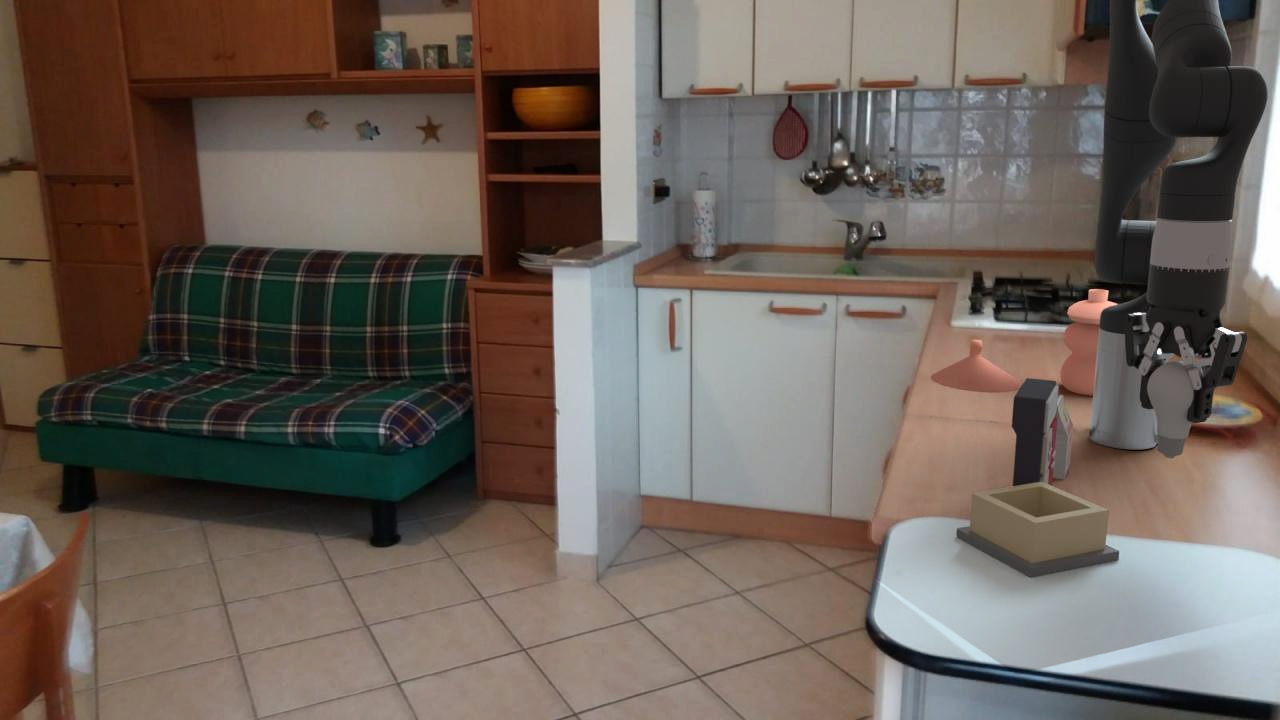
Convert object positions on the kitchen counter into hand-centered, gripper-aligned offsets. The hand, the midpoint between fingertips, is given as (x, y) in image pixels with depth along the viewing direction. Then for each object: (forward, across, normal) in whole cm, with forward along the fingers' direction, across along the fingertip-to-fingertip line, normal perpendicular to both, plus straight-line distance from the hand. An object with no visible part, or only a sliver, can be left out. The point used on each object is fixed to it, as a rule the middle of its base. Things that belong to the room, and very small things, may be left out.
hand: (1172, 414), depth 112 cm
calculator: (+15, +15, +5) cm, 22 cm away
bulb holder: (+15, +4, +14) cm, 21 cm away
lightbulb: (+5, 0, 0) cm, 5 cm away
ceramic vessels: (+16, +61, -33) cm, 71 cm away
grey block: (+15, +24, -7) cm, 30 cm away
